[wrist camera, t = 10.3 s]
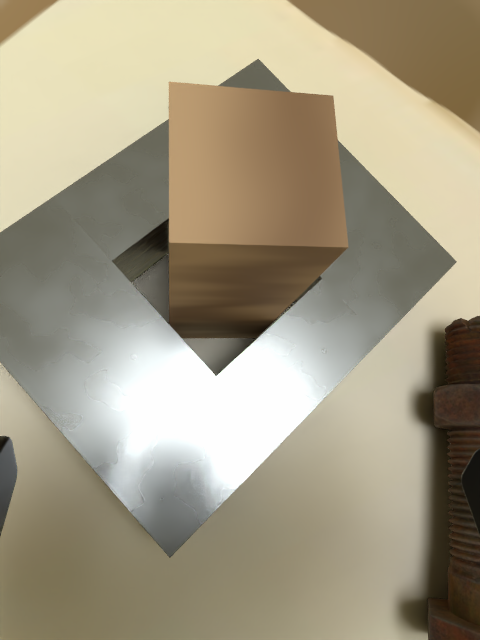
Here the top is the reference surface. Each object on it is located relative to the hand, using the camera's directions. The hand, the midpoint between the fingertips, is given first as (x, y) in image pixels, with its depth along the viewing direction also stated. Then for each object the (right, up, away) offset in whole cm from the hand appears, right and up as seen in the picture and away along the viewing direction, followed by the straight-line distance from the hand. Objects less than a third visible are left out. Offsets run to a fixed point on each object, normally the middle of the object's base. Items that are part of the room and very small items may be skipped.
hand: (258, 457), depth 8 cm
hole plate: (-2, +4, +14) cm, 15 cm away
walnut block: (-2, +4, +14) cm, 15 cm away
